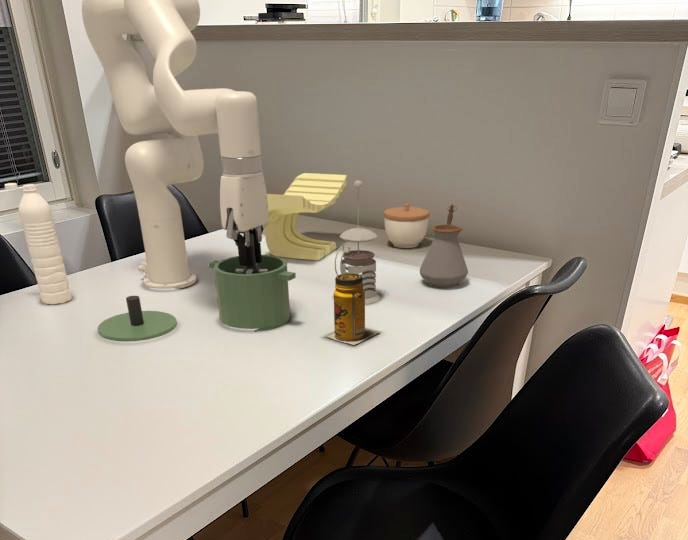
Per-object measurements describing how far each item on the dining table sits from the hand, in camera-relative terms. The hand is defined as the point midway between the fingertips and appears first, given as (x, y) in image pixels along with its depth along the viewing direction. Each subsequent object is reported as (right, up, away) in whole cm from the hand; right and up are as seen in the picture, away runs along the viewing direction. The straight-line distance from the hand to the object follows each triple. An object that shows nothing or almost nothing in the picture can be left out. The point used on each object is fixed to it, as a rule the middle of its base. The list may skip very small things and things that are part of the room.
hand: (250, 263), depth 137 cm
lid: (-23, -13, +2) cm, 27 cm away
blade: (0, -2, +1) cm, 3 cm away
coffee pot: (+44, +5, +29) cm, 53 cm away
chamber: (0, -10, +6) cm, 12 cm away
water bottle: (-48, -3, +19) cm, 52 cm away
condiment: (+21, -15, -2) cm, 26 cm away
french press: (+22, -3, +16) cm, 27 cm away
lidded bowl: (+36, +21, +55) cm, 69 cm away
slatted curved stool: (+7, +18, +50) cm, 54 cm away
